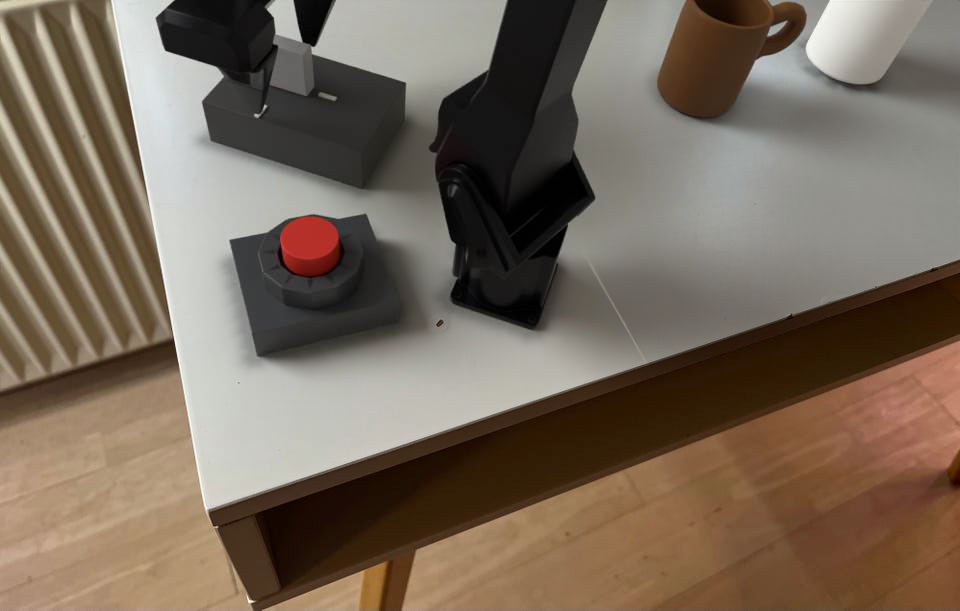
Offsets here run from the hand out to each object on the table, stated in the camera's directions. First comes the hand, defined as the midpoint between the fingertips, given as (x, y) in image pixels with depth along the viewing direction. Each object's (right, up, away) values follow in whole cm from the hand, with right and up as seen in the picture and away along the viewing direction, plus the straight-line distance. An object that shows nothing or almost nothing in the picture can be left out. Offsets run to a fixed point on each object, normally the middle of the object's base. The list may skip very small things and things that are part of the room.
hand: (283, 76), depth 57 cm
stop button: (+4, -14, -9) cm, 18 cm away
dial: (0, 0, +1) cm, 1 cm away
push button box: (+4, -17, -6) cm, 18 cm away
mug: (+38, +2, +13) cm, 40 cm away
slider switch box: (+1, -3, +4) cm, 5 cm away
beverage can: (+52, +7, +19) cm, 56 cm away
